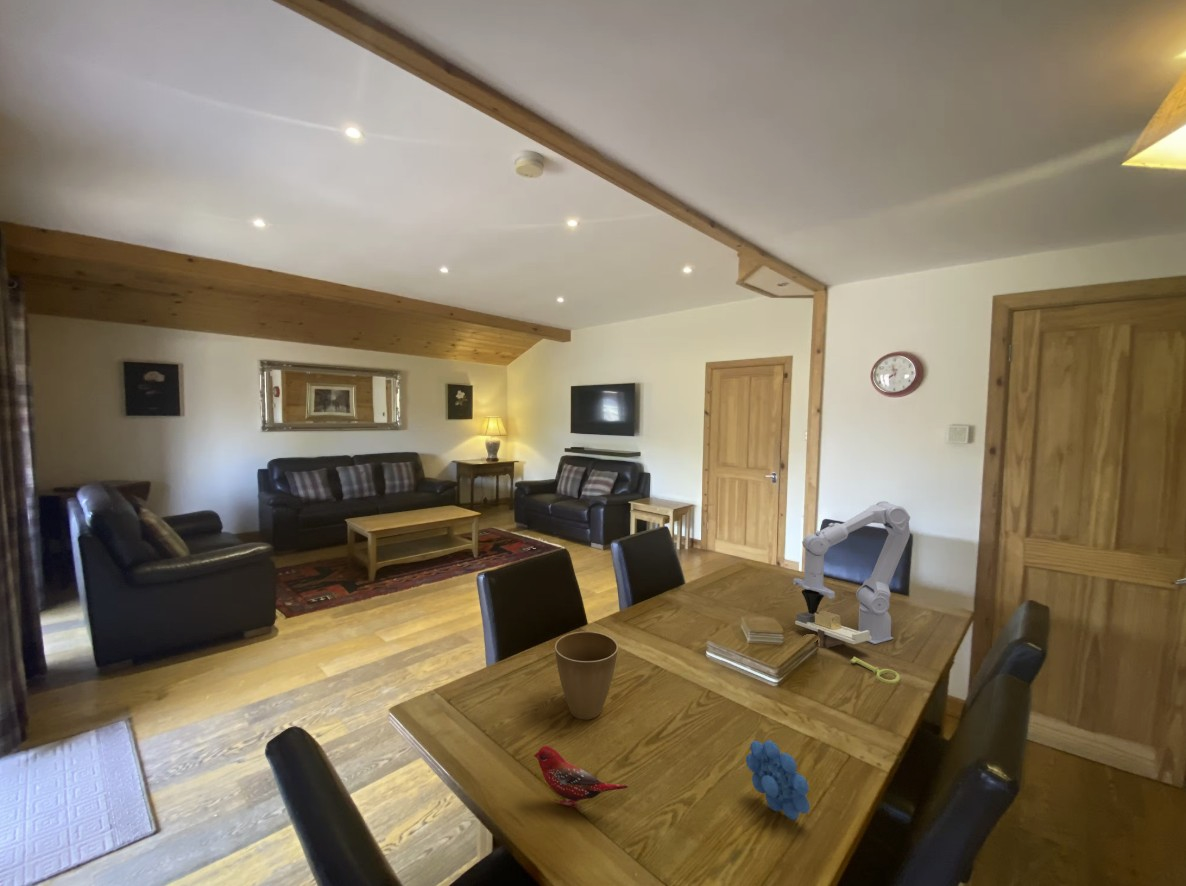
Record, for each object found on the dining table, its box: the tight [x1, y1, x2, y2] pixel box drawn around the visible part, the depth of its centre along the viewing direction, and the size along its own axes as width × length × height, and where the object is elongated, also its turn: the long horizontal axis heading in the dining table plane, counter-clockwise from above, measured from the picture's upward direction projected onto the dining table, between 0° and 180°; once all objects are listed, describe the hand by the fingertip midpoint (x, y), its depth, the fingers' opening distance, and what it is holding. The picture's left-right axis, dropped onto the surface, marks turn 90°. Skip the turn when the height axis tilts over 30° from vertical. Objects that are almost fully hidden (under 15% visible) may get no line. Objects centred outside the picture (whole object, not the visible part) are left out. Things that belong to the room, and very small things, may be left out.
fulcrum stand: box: [817, 623, 846, 649], centre depth 153 cm, size 3×10×5 cm, turn 115°
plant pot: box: [554, 631, 619, 720], centre depth 115 cm, size 15×15×16 cm
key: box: [849, 656, 901, 684], centre depth 135 cm, size 7×12×2 cm, turn 50°
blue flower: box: [745, 740, 810, 821], centre depth 86 cm, size 12×7×12 cm, turn 44°
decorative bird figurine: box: [533, 745, 629, 809], centre depth 86 cm, size 3×18×10 cm, turn 73°
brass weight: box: [815, 610, 842, 630], centre depth 154 cm, size 6×4×4 cm
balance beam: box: [794, 611, 871, 645], centre depth 153 cm, size 21×8×3 cm, turn 25°
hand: (812, 612), depth 159 cm, fingers closed
